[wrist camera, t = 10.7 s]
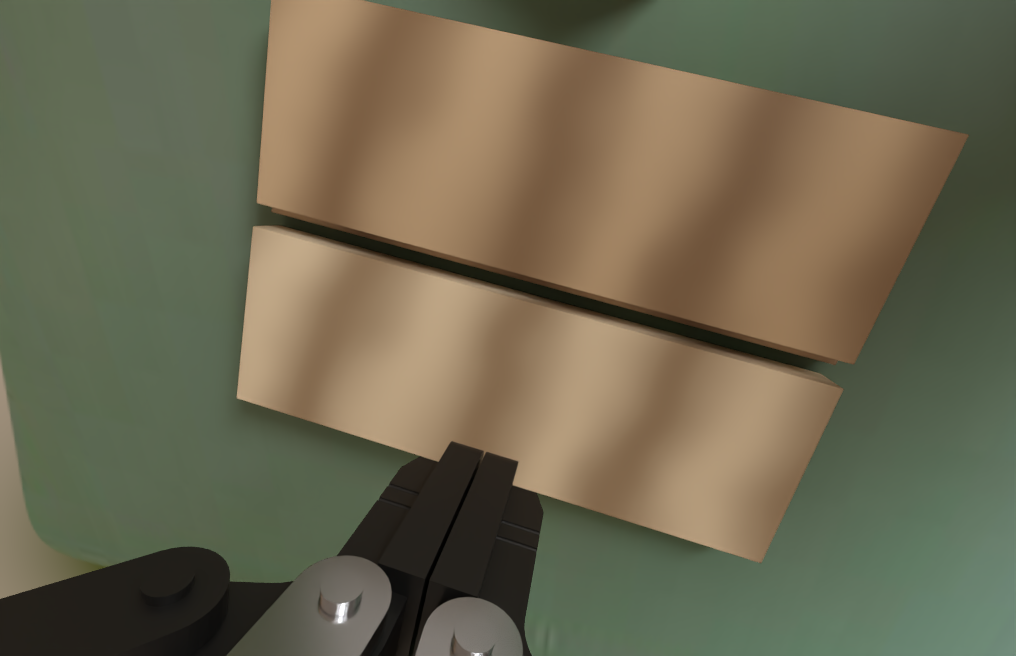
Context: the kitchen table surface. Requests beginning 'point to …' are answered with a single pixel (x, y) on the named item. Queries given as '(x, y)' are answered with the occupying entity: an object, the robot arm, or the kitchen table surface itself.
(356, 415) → the oak plank
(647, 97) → the laid plank
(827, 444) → the kitchen table surface
